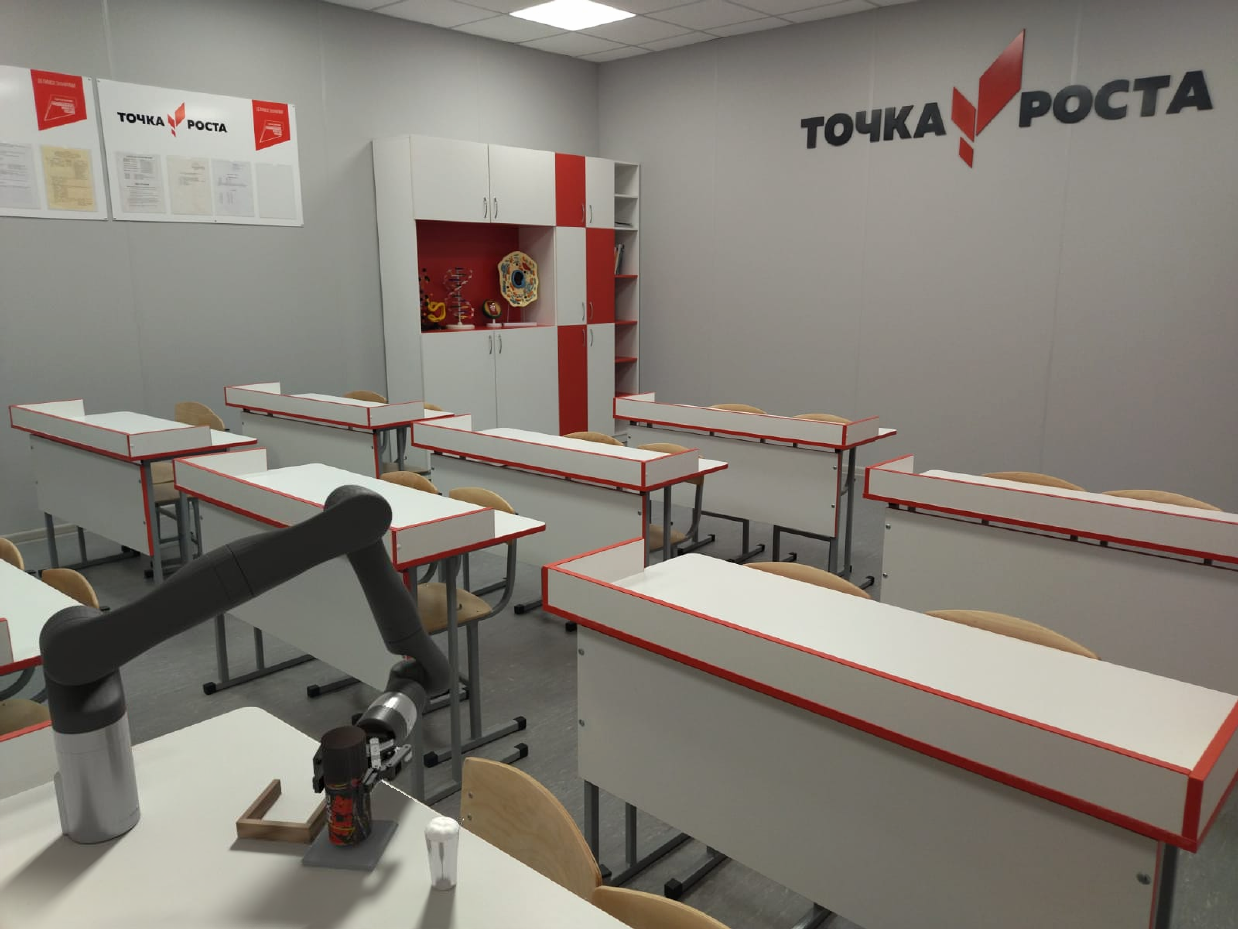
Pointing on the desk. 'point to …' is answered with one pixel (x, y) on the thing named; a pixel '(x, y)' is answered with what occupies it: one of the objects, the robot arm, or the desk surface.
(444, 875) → the milkshake
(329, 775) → the deodorant
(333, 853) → the pad
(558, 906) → the desk surface
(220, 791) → the desk surface
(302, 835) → the walnut bay
